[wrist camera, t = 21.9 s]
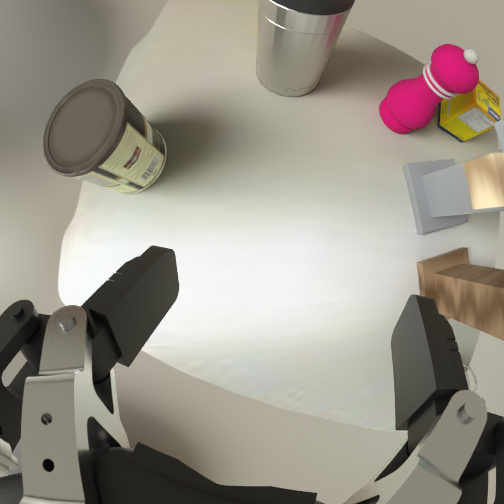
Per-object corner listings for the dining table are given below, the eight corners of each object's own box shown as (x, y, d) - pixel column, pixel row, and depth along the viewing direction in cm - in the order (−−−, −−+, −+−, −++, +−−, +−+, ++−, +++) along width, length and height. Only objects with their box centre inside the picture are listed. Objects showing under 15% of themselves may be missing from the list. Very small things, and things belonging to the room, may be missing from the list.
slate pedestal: (397, 167, 35) (507, 117, 13) (455, 160, 35) (554, 126, 13) (412, 235, 35) (534, 236, 13) (469, 219, 35) (573, 214, 13)
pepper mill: (382, 87, 34) (449, 15, 14) (419, 112, 34) (497, 57, 14) (370, 120, 34) (446, 48, 14) (409, 146, 35) (499, 97, 15)
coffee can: (110, 125, 34) (58, 85, 20) (174, 125, 34) (138, 73, 20) (95, 192, 35) (32, 175, 21) (160, 198, 35) (110, 177, 21)
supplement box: (462, 116, 34) (499, 96, 23) (461, 143, 35) (502, 126, 24) (438, 99, 34) (474, 74, 23) (436, 126, 34) (476, 103, 24)
